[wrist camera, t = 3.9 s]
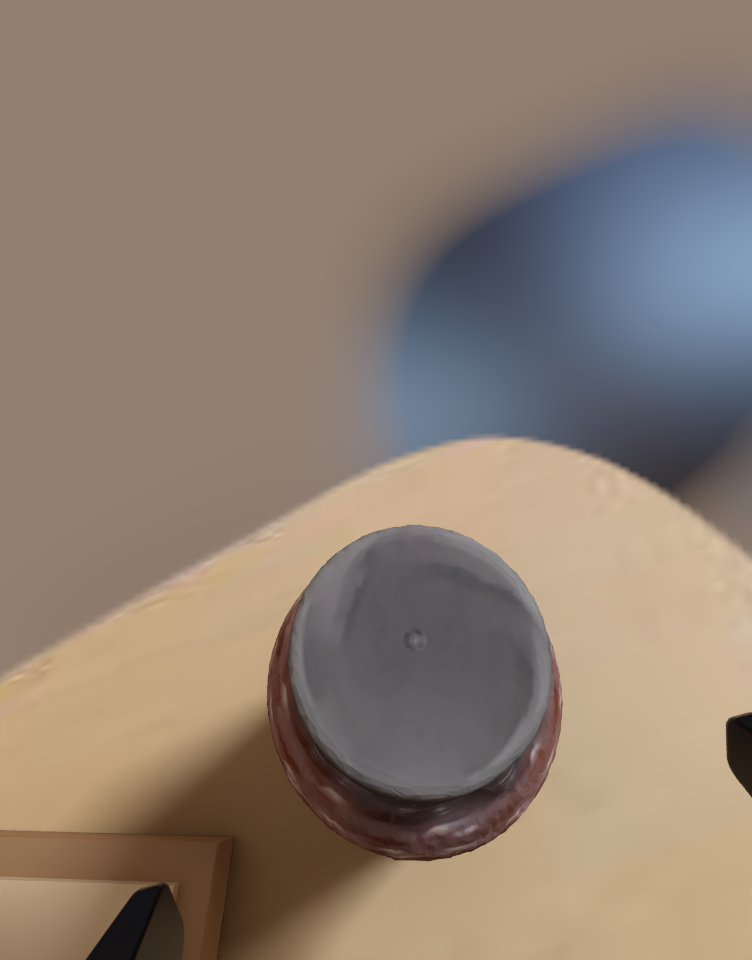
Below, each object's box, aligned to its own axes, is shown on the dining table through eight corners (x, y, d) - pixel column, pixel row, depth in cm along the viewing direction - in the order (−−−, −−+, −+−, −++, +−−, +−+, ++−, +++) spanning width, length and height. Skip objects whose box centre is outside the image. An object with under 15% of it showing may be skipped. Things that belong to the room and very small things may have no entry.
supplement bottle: (317, 823, 15) (171, 909, 6) (324, 633, 18) (237, 478, 9) (505, 818, 15) (691, 900, 5) (479, 628, 18) (567, 463, 9)
